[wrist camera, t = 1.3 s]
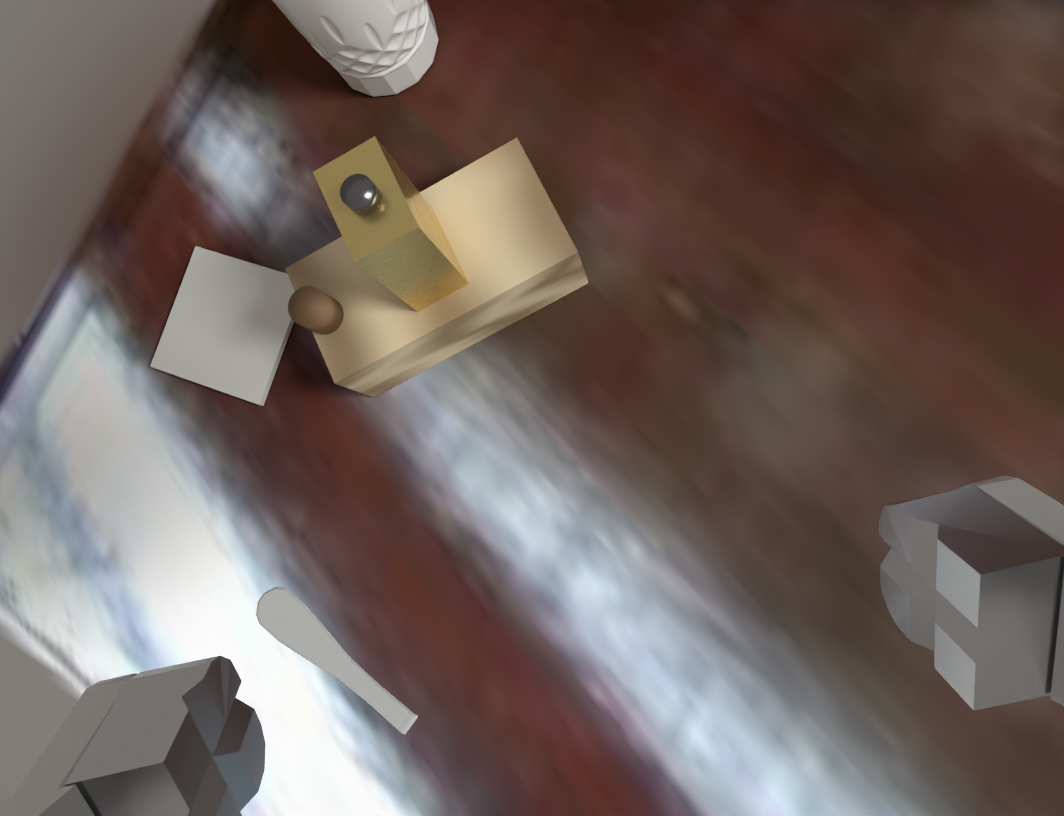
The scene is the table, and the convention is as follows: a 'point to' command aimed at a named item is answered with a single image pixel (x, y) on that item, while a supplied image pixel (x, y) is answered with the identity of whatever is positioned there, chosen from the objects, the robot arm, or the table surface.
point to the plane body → (462, 317)
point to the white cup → (369, 39)
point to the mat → (227, 326)
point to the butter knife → (326, 652)
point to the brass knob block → (390, 226)
